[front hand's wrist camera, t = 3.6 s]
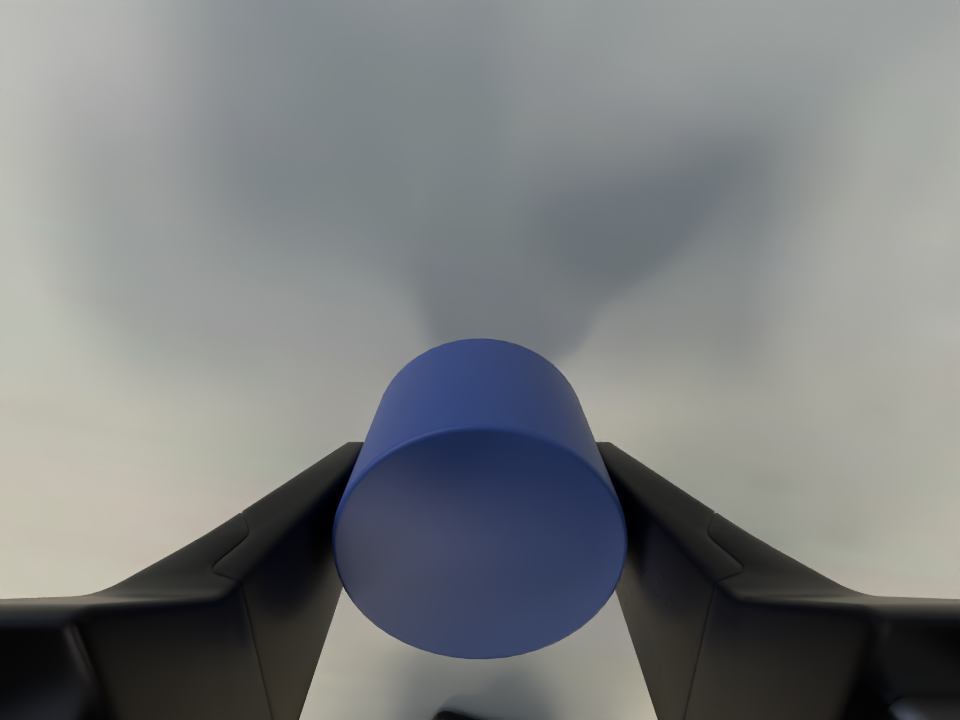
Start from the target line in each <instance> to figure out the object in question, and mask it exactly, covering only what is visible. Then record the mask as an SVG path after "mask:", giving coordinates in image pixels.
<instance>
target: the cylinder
mask: <svg viewBox="0 0 960 720" xmlns="http://www.w3.org/2000/svg"><path fill="white" fill-rule="evenodd" d="M627 547H628V536H627V526H626V521H625V515H624V513H623V510H622V507H621V504H620V502H619V499H618V497H617V494H616V492H615V489H614V487H613V484H612V482H611V479H610V477H609V474H608V472H607V469H606V467H605V464H604V462H603V459H602V457H601V454H600V452H599V449H598V447H597V444H596V442H595V439H594V437H593V434H592V432H591V430H590V427H589V425H588V422H587V420H586V417H585V415H584V412H583V410H582V407H581V405H580V402H579V400H578V397H577V395H576V393H575V392H574V390H573V388H572V386H571V384H570V383H569V382H568V380H567V379H566V378H565V376H564V375H563V374H562V373H561V372H560V371H559V370H558V369H557V368H556V367H555V366H554V365H553V364H551V363H550V362H549V361H547V360H546V359H545V358H543V357H542V356H540V355H538V354H537V353H535V352H533V351H531V350H529V349H527V348H524V347H522V346H519V345H517V344H513V343H509V342H505V341H500V340H493V339H467V340H459V341H455V342H451V343H447V344H443V345H441V346H438V347H435V348H433V349H430V350H429V351H427V352H425V353H423V354H421V355H419V356H418V357H416V358H415V359H414V360H412V361H411V362H410V363H408V364H407V365H406V366H405V367H404V368H403V369H402V370H401V371H400V372H399V373H398V374H397V375H396V376H395V378H394V379H393V380H392V381H391V383H390V384H389V386H388V388H387V389H386V391H385V393H384V395H383V397H382V399H381V402H380V404H379V407H378V409H377V412H376V414H375V417H374V419H373V422H372V424H371V427H370V429H369V432H368V434H367V437H366V439H365V442H364V444H363V446H362V449H361V451H360V454H359V456H358V459H357V461H356V464H355V466H354V469H353V471H352V474H351V476H350V479H349V481H348V484H347V486H346V489H345V491H344V494H343V496H342V499H341V501H340V504H339V506H338V509H337V511H336V514H335V519H334V524H333V529H332V549H333V557H334V562H335V566H336V569H337V573H338V576H339V578H340V580H341V583H342V585H343V587H344V589H345V591H346V592H347V594H348V595H349V597H350V598H351V600H352V601H353V603H354V604H355V605H356V606H357V607H358V609H359V610H360V611H361V612H362V613H363V614H364V615H365V616H366V617H367V618H368V619H369V620H370V621H372V622H373V623H374V624H375V625H376V626H377V627H379V628H380V629H382V630H383V631H385V632H386V633H388V634H389V635H391V636H393V637H395V638H396V639H398V640H400V641H402V642H404V643H406V644H409V645H411V646H413V647H416V648H418V649H421V650H425V651H428V652H431V653H435V654H439V655H444V656H449V657H456V658H466V659H493V658H505V657H510V656H516V655H521V654H525V653H528V652H532V651H535V650H539V649H541V648H544V647H546V646H549V645H551V644H554V643H556V642H558V641H560V640H561V639H563V638H565V637H567V636H569V635H570V634H572V633H573V632H575V631H576V630H578V629H579V628H581V627H582V626H583V625H585V624H586V623H587V622H588V621H589V620H591V619H592V618H593V617H594V616H595V615H596V614H597V613H598V612H599V611H600V609H601V608H602V607H603V606H604V605H605V604H606V602H607V601H608V599H609V598H610V596H611V595H612V594H613V592H614V590H615V588H616V586H617V584H618V582H619V580H620V578H621V575H622V571H623V568H624V565H625V561H626V554H627Z"/></svg>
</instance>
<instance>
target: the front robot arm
mask: <svg viewBox="0 0 960 720" xmlns="http://www.w3.org/2000/svg"><path fill="white" fill-rule="evenodd" d="M363 444H364V442H348V443H346V444H344V445H343V446H341V447H340V448H338V449H337V450H335V451H334V452H332V453H331V454H329V455H328V456H326V457H325V458H323V459H322V460H320V461H318V462H317V463H315V464H314V465H312V466H311V467H309V468H308V469H306V470H305V471H303V472H302V473H300V474H299V475H297V476H296V477H294V478H293V479H291V480H289V481H288V482H286V483H285V484H283V485H282V486H280V487H279V488H277V489H276V490H274V491H273V492H271V493H270V494H268V495H267V496H265V497H263V498H262V499H260V500H259V501H257V502H256V503H254V504H253V505H251V506H250V507H248V508H247V509H245V510H244V511H243V512H242V513H239V514H237V515H236V516H234V517H233V518H231V519H230V520H228V521H227V522H225V523H223V524H222V525H220V526H219V527H217V528H215V529H214V530H212V531H211V532H209V533H207V534H206V535H204V536H202V537H201V538H199V539H197V540H195V541H194V542H192V543H190V544H188V545H187V546H185V547H183V548H182V549H180V550H178V551H176V552H174V553H172V554H171V555H169V556H167V557H165V558H163V559H162V560H160V561H158V562H156V563H154V564H153V565H151V566H149V567H147V568H145V569H144V570H142V571H140V572H138V573H136V574H135V575H133V576H131V577H129V578H127V579H126V580H124V581H122V582H120V583H118V584H116V585H114V586H112V587H110V588H107V589H105V590H102V591H99V592H96V593H92V594H88V595H83V596H74V597H48V598H20V599H0V720H299V718H300V715H301V712H302V709H303V706H304V703H305V700H306V697H307V694H308V691H309V688H310V685H311V682H312V679H313V676H314V672H315V669H316V666H317V663H318V660H319V657H320V654H321V651H322V648H323V645H324V642H325V639H326V636H327V633H328V630H329V627H330V624H331V621H332V618H333V615H334V612H335V609H336V606H337V603H338V600H339V597H340V594H341V591H342V588H343V585H342V583H341V580H340V578H339V576H338V573H337V569H336V566H335V562H334V557H333V549H332V529H333V524H334V519H335V514H336V511H337V509H338V506H339V504H340V501H341V499H342V496H343V494H344V491H345V489H346V486H347V484H348V481H349V479H350V476H351V474H352V471H353V469H354V466H355V464H356V461H357V459H358V456H359V454H360V451H361V449H362V446H363ZM596 444H597V447H598V449H599V452H600V454H601V457H602V459H603V462H604V464H605V467H606V469H607V472H608V474H609V477H610V479H611V482H612V484H613V487H614V489H615V492H616V494H617V497H618V499H619V502H620V504H621V507H622V510H623V513H624V515H625V521H626V526H627V536H628V547H627V554H626V561H625V565H624V568H623V571H622V575H621V578H620V580H619V582H618V584H617V586H616V588H615V590H616V593H617V596H618V599H619V602H620V605H621V608H622V611H623V614H624V618H625V621H626V624H627V627H628V630H629V633H630V636H631V639H632V642H633V645H634V648H635V651H636V654H637V657H638V660H639V664H640V667H641V670H642V673H643V676H644V679H645V682H646V685H647V688H648V691H649V694H650V697H651V700H652V703H653V706H654V710H655V713H656V716H657V719H658V720H960V599H935V598H907V597H882V596H873V595H867V594H863V593H860V592H857V591H854V590H851V589H849V588H846V587H844V586H842V585H840V584H838V583H836V582H834V581H832V580H830V579H828V578H827V577H825V576H823V575H821V574H819V573H818V572H816V571H814V570H812V569H810V568H809V567H807V566H805V565H803V564H802V563H800V562H798V561H796V560H794V559H793V558H791V557H789V556H787V555H785V554H784V553H782V552H780V551H778V550H776V549H775V548H773V547H771V546H770V545H768V544H766V543H764V542H763V541H761V540H759V539H757V538H756V537H754V536H752V535H751V534H749V533H747V532H746V531H744V530H743V529H741V528H739V527H738V526H736V525H735V524H733V523H731V522H730V521H728V520H727V519H725V518H724V517H722V516H721V515H719V514H718V513H715V512H714V511H713V510H712V509H710V508H709V507H707V506H706V505H704V504H703V503H701V502H699V501H698V500H696V499H695V498H693V497H692V496H690V495H689V494H687V493H686V492H684V491H683V490H681V489H680V488H678V487H677V486H675V485H674V484H672V483H671V482H669V481H668V480H666V479H665V478H663V477H662V476H660V475H659V474H657V473H656V472H654V471H653V470H651V469H649V468H648V467H646V466H645V465H643V464H642V463H640V462H639V461H637V460H636V459H634V458H633V457H631V456H630V455H628V454H627V453H625V452H624V451H622V450H621V449H619V448H618V447H616V446H615V445H613V444H612V443H610V442H596ZM433 720H474V719H471V718H468V717H465V716H462V715H459V714H456V713H453V712H448V711H444V712H440V713H438V714H437V715H436V716H435V717H434V719H433Z"/></svg>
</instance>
